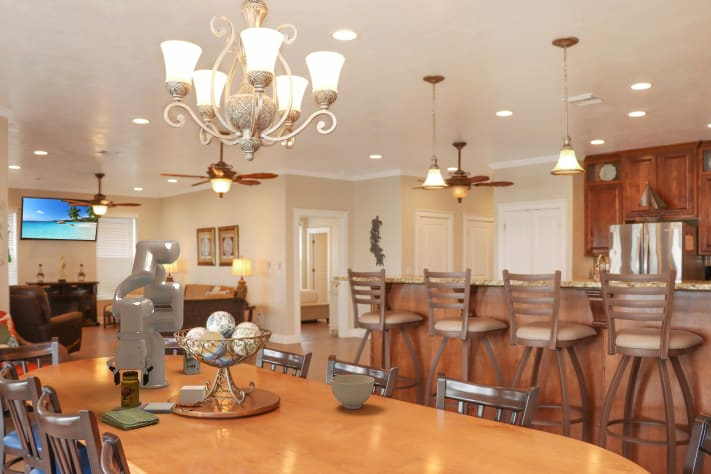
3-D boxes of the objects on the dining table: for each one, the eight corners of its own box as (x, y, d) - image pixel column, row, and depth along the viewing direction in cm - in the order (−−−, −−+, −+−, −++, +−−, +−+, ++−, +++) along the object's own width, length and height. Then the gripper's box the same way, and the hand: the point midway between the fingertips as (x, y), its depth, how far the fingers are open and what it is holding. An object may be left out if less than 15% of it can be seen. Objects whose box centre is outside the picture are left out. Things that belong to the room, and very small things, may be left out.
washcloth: (125, 432, 199) (125, 422, 199) (98, 422, 211) (98, 412, 211) (162, 424, 209) (163, 414, 209) (135, 414, 221) (135, 404, 221)
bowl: (369, 413, 222) (370, 385, 222) (325, 411, 226) (325, 382, 226) (377, 402, 238) (377, 375, 238) (335, 400, 241) (335, 373, 241)
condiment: (118, 409, 220) (119, 374, 220) (120, 403, 228) (120, 369, 228) (141, 408, 222) (141, 373, 222) (141, 402, 230) (142, 368, 231)
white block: (183, 401, 237) (184, 385, 237) (205, 401, 237) (205, 385, 237) (180, 406, 231) (180, 389, 231) (202, 406, 231) (202, 389, 231)
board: (121, 406, 230) (121, 402, 230) (177, 406, 231) (177, 402, 231) (111, 413, 220) (111, 409, 220) (170, 413, 221) (170, 409, 221)
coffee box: (200, 373, 287) (201, 338, 288) (186, 375, 285) (186, 338, 285) (196, 370, 296) (197, 335, 296) (182, 371, 293) (183, 336, 293)
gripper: (103, 338, 222) (102, 387, 222) (153, 338, 222) (153, 387, 223) (110, 334, 229) (110, 382, 229) (159, 334, 230) (159, 382, 230)
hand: (131, 384), depth 226 cm, fingers open, 9 cm apart
